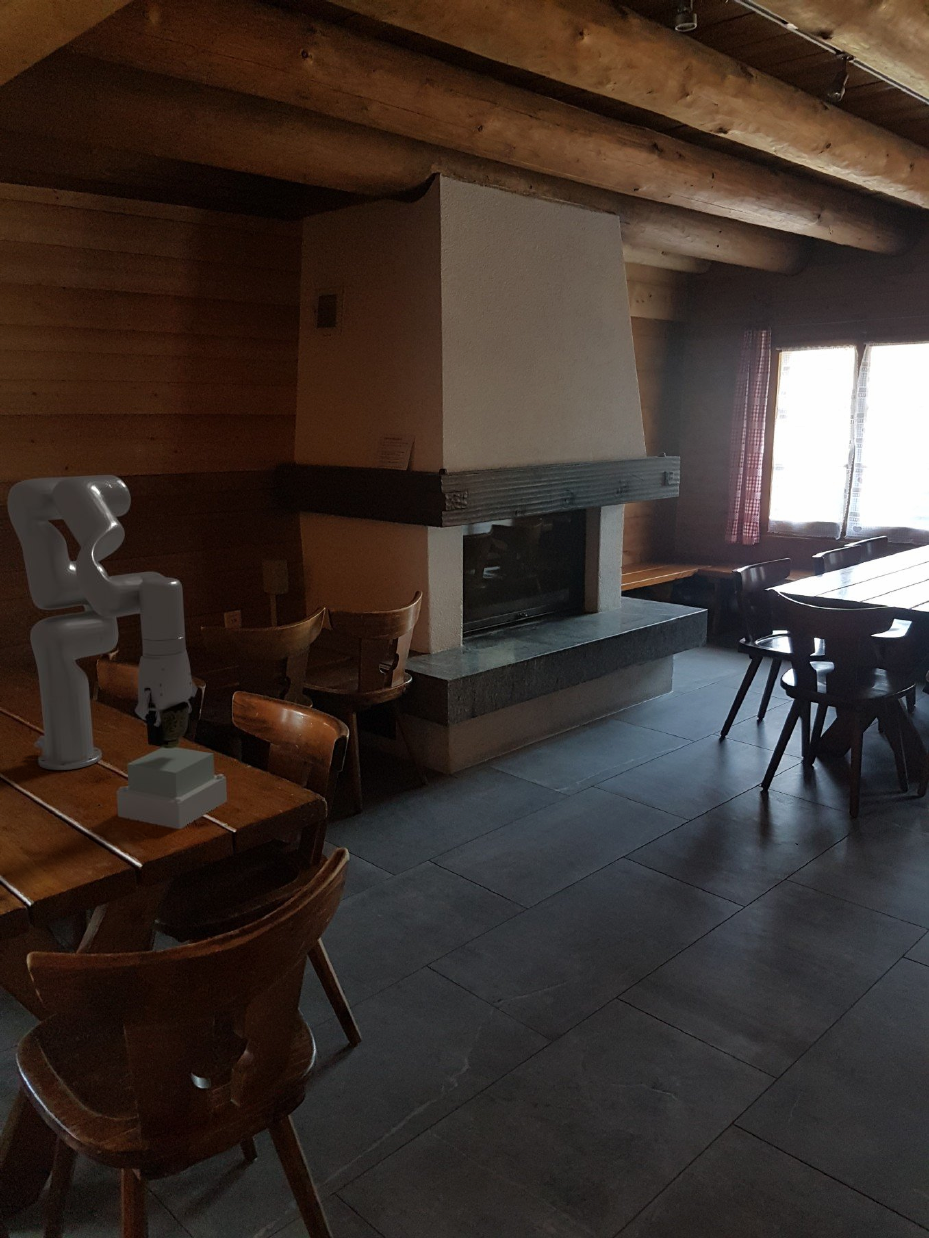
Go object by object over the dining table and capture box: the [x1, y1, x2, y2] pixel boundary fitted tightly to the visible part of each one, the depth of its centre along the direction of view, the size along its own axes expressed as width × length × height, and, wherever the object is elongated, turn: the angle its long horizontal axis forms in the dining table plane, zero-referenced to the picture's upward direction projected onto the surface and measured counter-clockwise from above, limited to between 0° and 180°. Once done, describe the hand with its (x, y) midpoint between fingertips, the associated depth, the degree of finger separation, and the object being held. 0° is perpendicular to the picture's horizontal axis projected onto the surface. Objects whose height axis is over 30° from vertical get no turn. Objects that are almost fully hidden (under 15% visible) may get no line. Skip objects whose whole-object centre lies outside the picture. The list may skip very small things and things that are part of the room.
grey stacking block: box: [116, 746, 228, 830], centre depth 184 cm, size 14×14×10 cm
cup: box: [151, 702, 189, 748], centre depth 181 cm, size 8×7×8 cm
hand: (169, 738), depth 182 cm, fingers closed on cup, 6 cm apart
